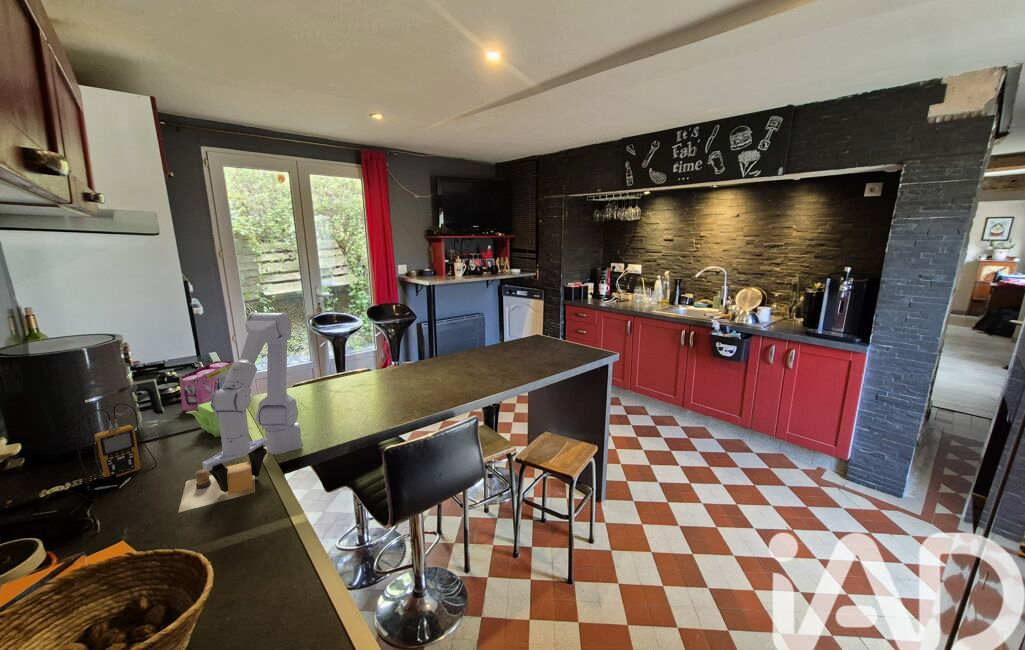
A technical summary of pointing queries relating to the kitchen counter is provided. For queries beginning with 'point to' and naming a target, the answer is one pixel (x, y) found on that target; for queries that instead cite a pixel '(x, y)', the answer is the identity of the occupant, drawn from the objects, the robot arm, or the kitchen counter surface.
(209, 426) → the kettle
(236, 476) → the tilted amber cube
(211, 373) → the gum box
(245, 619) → the kitchen counter surface
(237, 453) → the robot arm
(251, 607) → the kitchen counter surface
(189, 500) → the board
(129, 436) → the multimeter
